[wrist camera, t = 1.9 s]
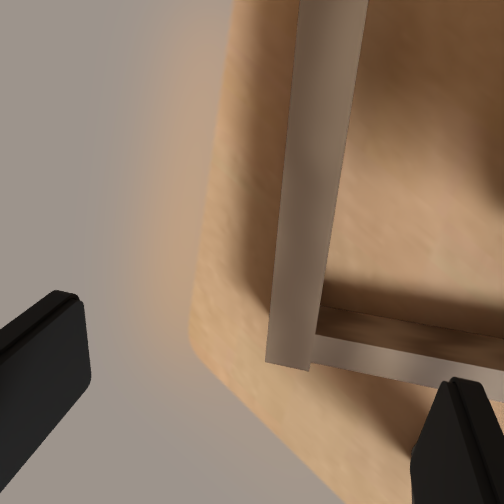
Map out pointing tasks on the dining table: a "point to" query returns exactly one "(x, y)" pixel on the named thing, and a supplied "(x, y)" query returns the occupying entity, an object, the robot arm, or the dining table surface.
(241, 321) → the dining table surface
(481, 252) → the dining table surface
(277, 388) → the dining table surface
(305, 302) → the wooden corner bracket
